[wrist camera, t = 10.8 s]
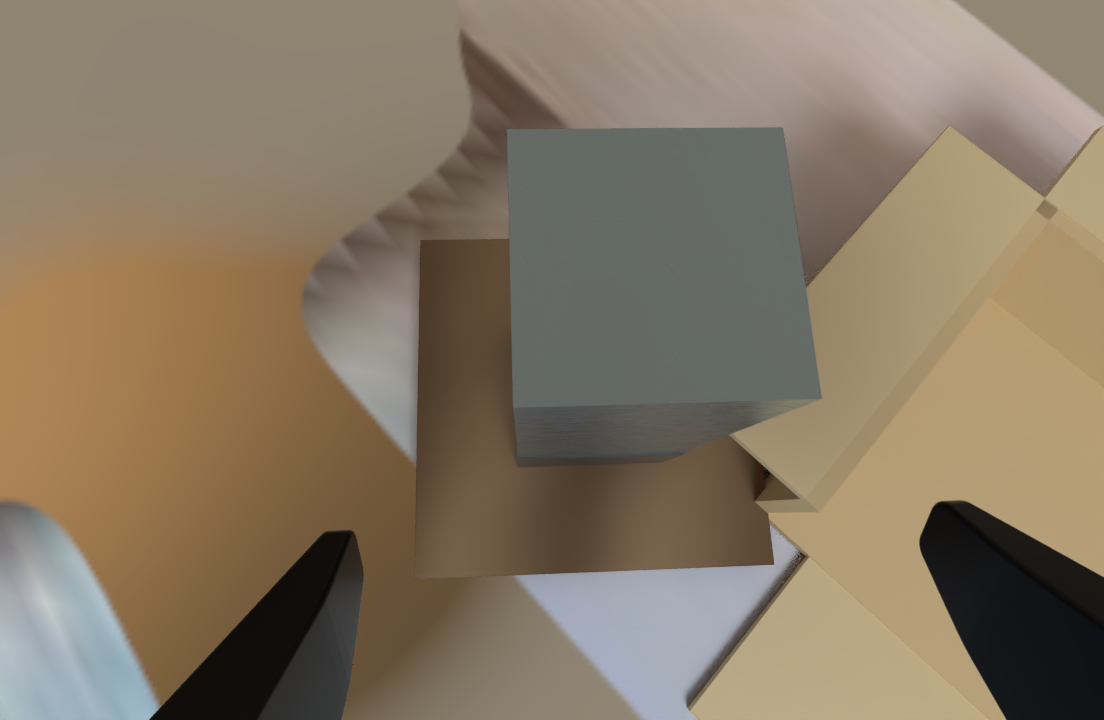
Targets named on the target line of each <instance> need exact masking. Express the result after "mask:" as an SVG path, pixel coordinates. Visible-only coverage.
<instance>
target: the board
mask: <svg viewBox="0 0 1104 720" xmlns="http://www.w3.org/2000/svg"><path fill="white" fill-rule="evenodd" d="M764 489H765V481H764V472H763V465H762V464H761V463H760V462H758V461H757V460H756V459H755V458H754V457H753V456H752V455H751V454H749V453H748V452H747V451H746V450H745V449H744V448H743V447H742V446H741V445H739V444H738V443H737V442H736V441H735V440H734V439H733V438H732V437H730V436H729V435H727V436H724V437H722V438H719V439H717V440H714V441H711V442H709V443H706V444H704V445H701V446H698V447H696V448H693V449H691V450H688V451H686V454H684V455H681V456H679V457H676V458H673V459H671V460H668V461H665V462H663V463H639V464H610V465H581V466H551V467H522V468H517V461H516V432H515V422H514V412H513V382H512V337H511V291H510V245H509V239H489V240H421V246H420V302H419V358H418V413H417V469H416V526H415V530H416V531H415V579H432V578H458V577H482V576H507V575H531V574H556V573H580V572H605V571H629V570H654V569H678V568H703V567H727V566H752V565H774V559H773V550H772V542H771V533H770V524H769V516H768V513H767V512H765V511H764V510H763V509H762V508H761V507H760V506H759V505H758V504H757V503H756V502H754V501H755V500H756V499H757V498H758V497H759V495H760V494H761V493H762V492H763V490H764Z"/></svg>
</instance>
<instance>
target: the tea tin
mask: <svg viewBox="0 0 1104 720" xmlns="http://www.w3.org/2000/svg"><path fill="white" fill-rule="evenodd" d="M507 153H508V199H509V245H510V291H511V337H512V382H513V412H514V422H515V432H516V461H517V468H522V467H551V466H581V465H610V464H639V463H663V462H665V461H668V460H671V459H673V458H676V457H679V456H681V455H684V454H686V451H688V450H691V449H693V448H696V447H698V446H701V445H704V444H706V443H709V442H711V441H714V440H717V439H719V438H722V437H724V436H727V435H730V434H732V433H735V432H737V431H740V430H742V429H745V428H748V427H750V426H753V425H755V424H758V423H761V422H763V421H766V420H768V419H771V418H774V417H776V416H779V415H781V414H784V413H787V412H789V411H792V410H794V409H797V408H800V407H802V406H805V405H807V404H810V403H813V402H815V401H818V400H820V399H822V396H821V389H820V382H819V375H818V368H817V361H816V354H815V347H814V340H813V333H812V326H811V319H810V312H809V305H808V299H807V292H806V285H805V278H804V271H803V264H802V257H801V250H800V243H799V236H798V229H797V222H796V215H795V208H794V201H793V194H792V188H791V181H790V174H789V167H788V160H787V153H786V146H785V139H784V132H783V128H629V129H507Z"/></svg>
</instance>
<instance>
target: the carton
mask: <svg viewBox="0 0 1104 720" xmlns="http://www.w3.org/2000/svg"><path fill="white" fill-rule="evenodd" d="M806 292H807V299H808V305H809V312H810V319H811V326H812V333H813V340H814V347H815V354H816V361H817V368H818V375H819V382H820V389H821V396H822V399H820V400H818V401H815V402H813V403H810V404H807V405H805V406H802V407H800V408H797V409H794V410H792V411H789V412H787V413H784V414H781V415H779V416H776V417H774V418H771V419H768V420H766V421H763V422H761V423H758V424H755V425H753V426H750V427H748V428H745V429H742V430H740V431H737V432H735V433H732V434H730V435H729V436H730V437H732V438H733V439H734V440H735V441H736V442H737V443H738V444H739V445H741V446H742V447H743V448H744V449H745V450H746V451H747V452H748V453H749V454H751V455H752V456H753V457H754V458H755V459H756V460H757V461H758V462H760V463H761V464H762V465H763V466H764V467H765V468H766V469H767V470H769V471H770V473H769V474H768V475H767V477H766V478H765V479H764V481H765V489H764V490H763V492H762V493H761V494H760V495H759V497H758V498H757V499H756V500H755V501H754V502H756V503H757V504H758V505H759V506H760V507H761V508H762V509H763V510H764V511H765V512H767V513H768V516H769V524H770V525H772V526H773V527H774V528H775V529H776V530H777V531H778V532H779V533H780V534H781V535H783V536H784V537H785V538H786V539H787V540H788V541H789V542H790V543H791V544H792V545H794V546H795V547H796V548H797V549H798V550H799V551H800V552H801V553H802V554H803V555H805V557H804V559H803V560H802V561H801V562H800V564H799V565H798V566H797V568H796V569H795V570H794V571H793V573H792V574H791V575H790V577H789V578H788V579H787V580H786V582H785V583H784V584H783V586H782V587H781V588H780V589H779V591H778V592H777V593H776V595H775V596H774V597H773V598H772V600H771V601H770V602H769V604H768V605H767V606H766V607H765V609H764V610H763V611H762V613H761V614H760V615H759V616H758V618H757V619H756V620H755V622H754V623H753V624H752V625H751V627H750V628H749V629H748V631H747V632H746V633H745V634H744V636H743V637H742V638H741V640H740V641H739V642H738V643H737V645H736V646H735V647H734V649H733V650H732V651H731V652H730V654H729V655H728V656H727V658H726V659H725V660H724V661H723V663H722V664H721V665H720V667H719V668H718V669H717V670H716V672H715V673H714V674H713V676H712V677H711V678H710V679H709V681H708V682H707V683H706V685H705V686H704V687H703V688H702V690H701V691H700V692H699V694H698V695H697V696H696V697H695V699H694V700H693V701H692V703H691V704H690V705H689V707H688V710H689V711H690V712H691V713H692V714H693V715H694V716H695V717H696V718H697V719H698V720H1006V719H1005V717H1004V715H1003V713H1002V712H1001V710H1000V708H999V706H998V705H997V703H996V701H995V700H994V698H993V696H992V694H991V693H990V691H989V689H988V687H987V686H986V684H985V682H984V681H983V679H982V677H981V675H980V674H979V672H978V670H977V668H976V667H975V665H974V663H973V661H972V660H971V658H970V656H969V654H968V652H967V650H966V649H965V647H964V645H963V643H962V641H961V639H960V637H959V635H958V633H957V631H956V629H955V626H954V624H953V622H952V620H951V618H950V616H949V613H948V611H947V609H946V607H945V605H944V602H943V600H942V598H941V596H940V594H939V591H938V589H937V587H936V585H935V583H934V581H933V578H932V576H931V574H930V572H929V570H928V567H927V565H926V563H925V561H924V559H923V556H922V554H921V551H920V546H919V539H920V535H921V533H922V531H923V528H924V526H925V524H926V521H927V519H928V517H929V514H930V512H931V510H932V507H933V506H934V505H935V504H936V503H937V502H939V501H951V500H963V501H967V502H969V503H971V504H973V505H975V506H977V507H979V508H980V509H982V510H984V511H986V512H988V513H989V514H991V515H993V516H995V517H997V518H998V519H1000V520H1002V521H1004V522H1006V523H1007V524H1009V525H1011V526H1013V527H1015V528H1016V529H1018V530H1020V531H1022V532H1024V533H1025V534H1027V535H1029V536H1031V537H1033V538H1034V539H1036V540H1038V541H1040V542H1042V543H1043V544H1045V545H1047V546H1049V547H1051V548H1052V549H1054V550H1056V551H1058V552H1060V553H1061V554H1063V555H1065V556H1067V557H1069V558H1070V559H1072V560H1074V561H1076V562H1078V563H1079V564H1081V565H1083V566H1085V567H1087V568H1088V569H1090V570H1092V571H1094V572H1096V573H1097V574H1099V575H1101V576H1103V577H1104V125H1103V126H1101V127H1100V128H1098V129H1097V130H1095V131H1094V132H1093V134H1092V135H1091V136H1090V137H1089V139H1088V140H1087V141H1086V142H1085V144H1084V145H1083V146H1082V147H1081V149H1080V150H1079V151H1078V152H1077V154H1076V155H1075V156H1074V157H1073V159H1072V160H1071V161H1070V162H1069V164H1068V165H1067V166H1066V167H1065V169H1064V170H1063V171H1062V172H1061V174H1060V175H1059V176H1058V177H1057V179H1056V180H1055V181H1054V182H1053V184H1052V185H1051V186H1050V187H1049V189H1048V190H1047V191H1046V192H1045V194H1044V195H1043V196H1042V195H1040V194H1039V193H1038V192H1036V191H1035V190H1034V189H1032V188H1031V187H1030V186H1028V185H1027V184H1026V183H1024V182H1023V181H1022V180H1021V179H1019V178H1018V177H1017V176H1015V175H1014V174H1013V173H1011V172H1010V171H1009V170H1007V169H1006V168H1005V167H1003V166H1002V165H1001V164H999V163H998V162H997V161H995V160H994V159H993V158H992V157H990V156H989V155H988V154H986V153H985V152H984V151H982V150H981V149H980V148H978V147H977V146H976V145H974V144H973V143H972V142H970V141H969V140H968V139H966V138H965V137H964V136H962V135H961V134H960V133H959V132H957V131H956V130H955V129H953V128H952V127H951V126H949V127H947V128H946V129H945V130H944V131H943V132H942V133H941V134H940V136H939V137H938V138H937V139H936V140H935V141H934V142H933V144H932V145H931V146H930V147H929V148H928V149H927V150H926V151H925V153H924V154H923V155H922V156H921V157H920V158H919V159H918V161H917V162H916V163H915V164H914V165H913V166H912V167H911V169H910V170H909V171H908V172H907V173H906V174H905V175H904V176H903V178H902V179H901V180H900V181H899V182H898V183H897V184H896V186H895V187H894V188H893V189H892V190H891V191H890V192H889V194H888V195H887V196H886V197H885V198H884V199H883V200H882V201H881V203H880V204H879V205H878V206H877V207H876V208H875V209H874V211H873V212H872V213H871V214H870V215H869V216H868V217H867V219H866V220H865V221H864V222H863V223H862V224H861V225H860V226H859V228H858V229H857V230H856V231H855V232H854V233H853V234H852V236H851V237H850V238H849V239H848V240H847V241H846V242H845V244H844V245H843V246H842V247H841V248H840V249H839V250H838V252H837V253H836V254H835V255H834V256H833V257H832V258H831V259H830V261H829V262H828V263H827V264H826V265H825V266H824V267H823V269H822V270H821V271H820V272H819V273H818V274H817V275H816V277H815V278H814V279H813V280H812V281H811V282H810V283H809V284H808V286H807V287H806Z"/></svg>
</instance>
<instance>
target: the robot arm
mask: <svg viewBox="0 0 1104 720" xmlns="http://www.w3.org/2000/svg"><path fill="white" fill-rule="evenodd" d="M919 546H920V551H921V554H922V556H923V559H924V561H925V563H926V565H927V567H928V570H929V572H930V574H931V576H932V578H933V581H934V583H935V585H936V587H937V589H938V591H939V594H940V596H941V598H942V600H943V602H944V605H945V607H946V609H947V611H948V613H949V616H950V618H951V620H952V622H953V624H954V626H955V629H956V631H957V633H958V635H959V637H960V639H961V641H962V643H963V645H964V647H965V649H966V650H967V652H968V654H969V656H970V658H971V660H972V661H973V663H974V665H975V667H976V668H977V670H978V672H979V674H980V675H981V677H982V679H983V681H984V682H985V684H986V686H987V687H988V689H989V691H990V693H991V694H992V696H993V698H994V700H995V701H996V703H997V705H998V706H999V708H1000V710H1001V712H1002V713H1003V715H1004V717H1005V719H1006V720H1104V577H1103V576H1101V575H1099V574H1097V573H1096V572H1094V571H1092V570H1090V569H1088V568H1087V567H1085V566H1083V565H1081V564H1079V563H1078V562H1076V561H1074V560H1072V559H1070V558H1069V557H1067V556H1065V555H1063V554H1061V553H1060V552H1058V551H1056V550H1054V549H1052V548H1051V547H1049V546H1047V545H1045V544H1043V543H1042V542H1040V541H1038V540H1036V539H1034V538H1033V537H1031V536H1029V535H1027V534H1025V533H1024V532H1022V531H1020V530H1018V529H1016V528H1015V527H1013V526H1011V525H1009V524H1007V523H1006V522H1004V521H1002V520H1000V519H998V518H997V517H995V516H993V515H991V514H989V513H988V512H986V511H984V510H982V509H980V508H979V507H977V506H975V505H973V504H971V503H969V502H967V501H963V500H951V501H939V502H937V503H936V504H935V505H934V506H933V507H932V510H931V512H930V514H929V517H928V519H927V521H926V524H925V526H924V528H923V531H922V533H921V535H920V539H919ZM362 586H363V566H362V561H361V557H360V552H359V548H358V543H357V539H356V535H355V534H354V532H353V531H351V530H337V531H327V532H325V533H323V534H322V535H321V536H320V537H319V538H318V539H317V540H316V541H315V542H314V543H313V544H312V545H311V547H310V548H309V549H308V550H307V551H306V552H305V553H304V554H303V555H302V556H301V557H300V559H299V560H298V561H297V562H296V563H295V564H294V565H293V566H292V567H291V568H290V569H289V570H288V571H287V572H286V574H284V576H283V577H282V578H281V579H280V580H279V581H278V582H277V583H276V584H275V585H274V586H273V587H272V589H270V591H269V592H268V593H267V594H266V595H265V596H264V597H263V598H262V599H261V600H260V601H259V602H258V603H257V605H256V606H255V607H254V608H253V609H252V610H251V611H250V612H249V613H248V614H247V615H246V616H245V618H243V620H242V621H241V622H240V623H239V624H238V625H237V626H236V627H235V628H234V629H233V630H232V631H231V632H230V634H229V635H228V636H227V637H226V638H225V639H224V640H223V641H222V642H221V643H220V644H219V645H218V646H217V648H215V650H214V651H213V652H212V653H211V654H210V655H209V656H208V657H207V658H206V659H205V660H204V661H203V663H201V665H200V666H199V667H198V668H197V669H196V670H195V671H194V672H193V673H192V674H191V675H190V676H189V677H188V679H187V680H186V681H185V682H184V683H183V684H182V685H181V686H180V687H179V688H178V689H177V690H176V691H175V692H174V694H173V695H172V696H171V697H170V698H169V699H168V700H167V701H166V702H165V703H164V704H163V705H162V706H161V707H160V709H159V710H158V711H157V712H156V713H155V714H154V715H153V716H152V717H151V718H150V719H149V720H341V717H342V714H343V709H344V706H345V701H346V697H347V692H348V688H349V683H350V676H351V669H352V662H353V655H354V647H355V640H356V632H357V625H358V617H359V610H360V602H361V595H362Z"/></svg>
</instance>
